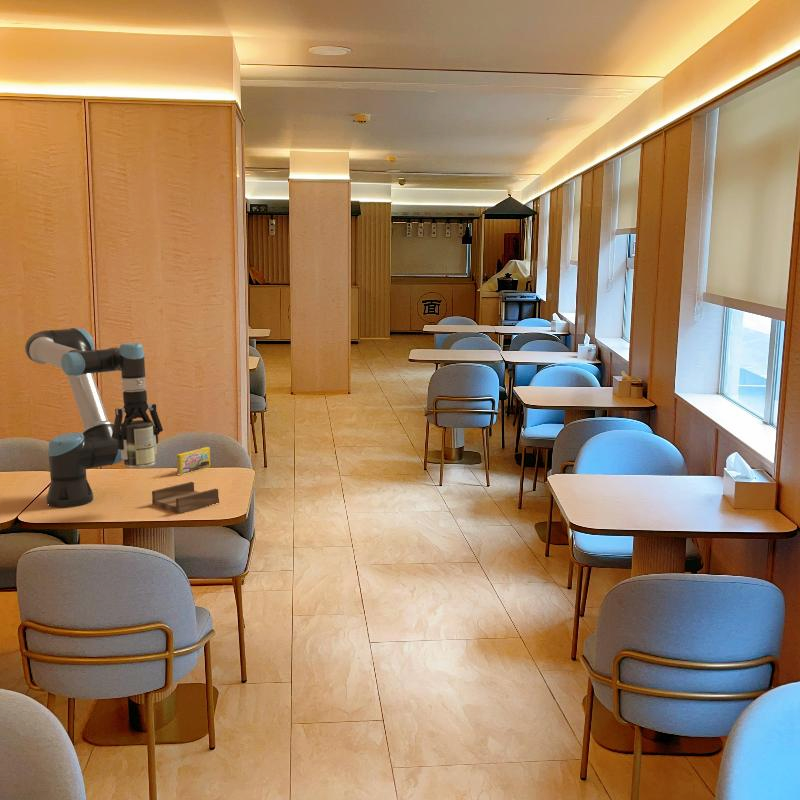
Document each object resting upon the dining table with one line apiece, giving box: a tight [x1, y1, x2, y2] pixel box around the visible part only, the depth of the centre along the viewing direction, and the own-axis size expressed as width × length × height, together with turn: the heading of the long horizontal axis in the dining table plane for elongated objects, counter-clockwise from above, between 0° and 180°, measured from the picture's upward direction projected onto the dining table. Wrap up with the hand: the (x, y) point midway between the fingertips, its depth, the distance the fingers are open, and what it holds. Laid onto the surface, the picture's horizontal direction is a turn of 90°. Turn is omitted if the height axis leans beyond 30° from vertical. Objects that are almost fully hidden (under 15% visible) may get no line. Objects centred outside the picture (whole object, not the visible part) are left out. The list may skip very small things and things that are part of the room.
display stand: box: [151, 481, 220, 515], centre depth 309 cm, size 16×16×5 cm
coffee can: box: [121, 419, 156, 469], centre depth 300 cm, size 10×10×14 cm
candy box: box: [176, 446, 211, 476], centre depth 355 cm, size 16×2×8 cm, turn 147°
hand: (139, 456), depth 301 cm, fingers closed on coffee can, 10 cm apart
